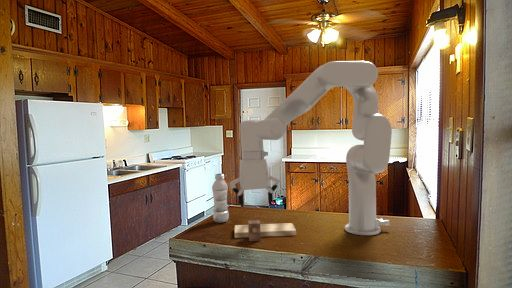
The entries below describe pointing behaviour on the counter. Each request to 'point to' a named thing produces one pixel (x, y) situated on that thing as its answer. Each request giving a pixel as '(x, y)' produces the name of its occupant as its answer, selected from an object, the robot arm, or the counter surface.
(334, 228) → the counter surface
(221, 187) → the plastic bottle
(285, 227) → the board
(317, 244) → the counter surface
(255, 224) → the brown handled block
